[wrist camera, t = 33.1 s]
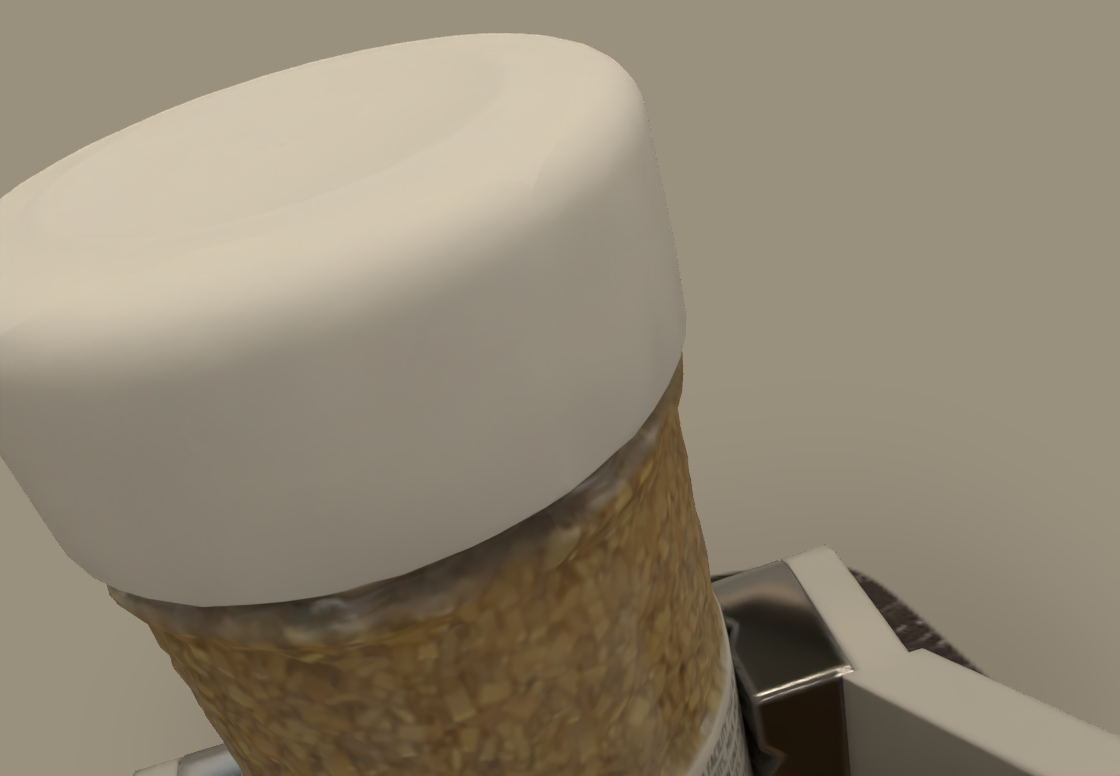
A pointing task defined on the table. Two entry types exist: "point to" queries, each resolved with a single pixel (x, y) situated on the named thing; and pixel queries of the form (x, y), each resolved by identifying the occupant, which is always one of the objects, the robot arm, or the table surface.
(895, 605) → the table surface
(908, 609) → the table surface
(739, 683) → the robot arm
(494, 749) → the sprinkles bottle
